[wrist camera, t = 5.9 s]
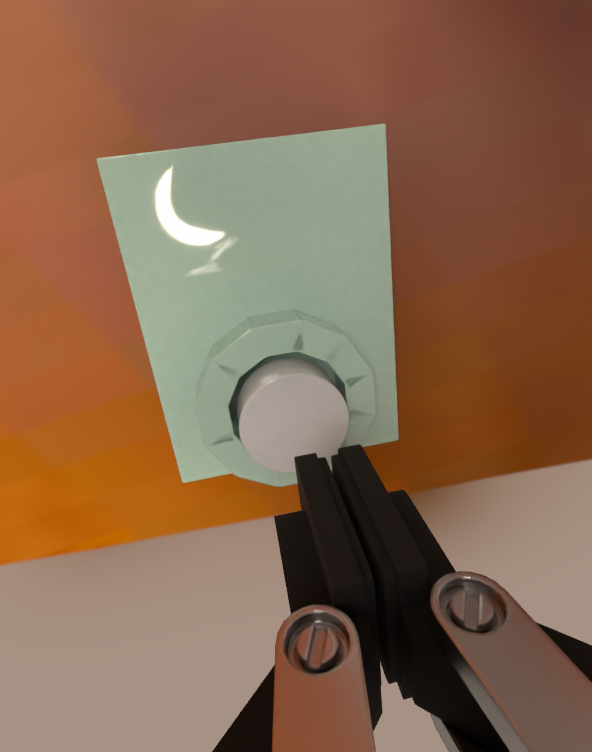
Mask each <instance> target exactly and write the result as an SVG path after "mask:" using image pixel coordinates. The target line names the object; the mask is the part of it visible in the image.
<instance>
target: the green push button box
mask: <svg viewBox="0 0 592 752" xmlns="http://www.w3.org/2000/svg"><path fill="white" fill-rule="evenodd" d="M96 161H97V165H98V169H99V172H100V176H101V180H102V184H103V187H104V191H105V195H106V199H107V202H108V206H109V210H110V214H111V217H112V221H113V225H114V229H115V232H116V236H117V240H118V244H119V247H120V251H121V255H122V259H123V262H124V266H125V270H126V274H127V277H128V281H129V285H130V289H131V292H132V296H133V300H134V304H135V307H136V311H137V315H138V319H139V322H140V326H141V330H142V334H143V337H144V341H145V345H146V349H147V352H148V356H149V360H150V364H151V367H152V371H153V375H154V379H155V383H156V386H157V390H158V394H159V398H160V401H161V405H162V409H163V413H164V416H165V420H166V424H167V428H168V431H169V435H170V439H171V443H172V446H173V450H174V454H175V458H176V461H177V465H178V469H179V473H180V476H181V480H182V483H186V482H191V481H196V480H201V479H206V478H211V477H216V476H221V475H226V474H231V473H233V474H234V475H235V476H237V477H240V478H244V479H248V480H252V481H256V482H260V483H263V484H267V485H271V486H275V487H278V486H279V487H283V486H288V485H292V484H297V483H298V482H297V475H296V473H282V472H277V471H273V470H270V469H267V468H265V467H263V466H262V465H260V464H258V463H257V462H256V461H255V460H253V459H252V458H251V457H250V455H249V454H248V453H247V452H246V450H245V449H244V447H243V444H242V442H241V439H240V435H239V426H238V416H237V401H238V396H239V393H240V391H241V388H242V386H243V385H244V383H245V382H246V380H247V379H248V378H249V377H250V375H251V374H253V373H254V372H255V371H256V370H257V369H259V368H260V367H262V366H263V365H265V364H267V363H270V362H272V361H275V360H279V359H286V358H297V359H303V360H306V361H309V362H312V363H314V364H316V365H318V366H319V367H321V368H322V369H323V370H324V371H325V372H326V373H327V374H328V375H329V376H330V378H331V379H332V381H333V382H334V384H335V385H336V387H337V388H338V390H339V391H340V393H341V394H342V396H343V398H344V400H345V402H346V405H347V408H348V414H349V423H348V429H347V433H346V436H345V438H344V441H343V442H342V444H341V446H340V447H339V448H342V447H347V446H353V445H358V444H360V445H361V446H362V447H366V446H371V445H376V444H381V443H386V442H391V441H396V440H399V437H398V413H397V389H396V364H395V340H394V316H393V292H392V268H391V244H390V219H389V195H388V171H387V147H386V125H385V124H376V125H368V126H360V127H351V128H343V129H335V130H327V131H318V132H310V133H302V134H293V135H285V136H277V137H268V138H260V139H252V140H243V141H235V142H227V143H219V144H210V145H202V146H194V147H185V148H177V149H169V150H160V151H152V152H144V153H136V154H127V155H119V156H111V157H102V158H97V159H96ZM337 454H338V450H337V451H336V452H335V453H334V455H337ZM327 462H328V465H329V467H330V469H331V471H332V463H331V457H330V458H329V459H328V460H327Z"/></svg>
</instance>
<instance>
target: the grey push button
mask: <svg viewBox="0 0 592 752" xmlns="http://www.w3.org/2000/svg"><path fill="white" fill-rule="evenodd" d="M237 416H238V426H239V435H240V439H241V442H242V444H243V447H244V449H245V450H246V452H247V453H248V454H249V455H250V457H251V458H252V459H253V460H255V461H256V462H257V463H258V464H260V465H262V466H263V467H265V468H267V469H270V470H273V471H277V472H282V473H296V468H295V461H294V457H296V456H301V455H306V454H311V453H316V454H317V457H318V458H321V457H326V460H328V459H329V458H330V457H331V456H332V455H334V453H335V452H336V451H337V450H338V448H339V447H340V446H341V444H342V442H343V441H344V438H345V436H346V433H347V429H348V423H349V414H348V408H347V405H346V402H345V400H344V398H343V396H342V394H341V393H340V391H339V390H338V388H337V387H336V385H335V384H334V382H333V381H332V379H331V378H330V376H329V375H328V374H327V373H326V372H325V371H324V370H323V369H322V368H321V367H319V366H318V365H316V364H314V363H312V362H309V361H306V360H303V359H297V358H286V359H279V360H275V361H272V362H270V363H267V364H265V365H263V366H262V367H260V368H259V369H257V370H256V371H255V372H254V373H253V374H251V375H250V377H249V378H248V379H247V380H246V382H245V383H244V385H243V386H242V388H241V391H240V393H239V396H238V401H237Z"/></svg>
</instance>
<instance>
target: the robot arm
mask: <svg viewBox="0 0 592 752" xmlns="http://www.w3.org/2000/svg"><path fill="white" fill-rule="evenodd" d="M294 461H295V468H296V475H297V482H298V489H299V496H300V503H301V510H302V511H297V512H292V513H288V514H283V515H278V516H274V518H275V524H276V529H277V535H278V541H279V547H280V553H281V559H282V564H283V570H284V576H285V582H286V587H287V593H288V599H289V605H290V611H291V615H290V616H289V617H288V618H287V619H286V620H285V621H284V622H283V624H282V626H281V628H280V630H279V631H278V634H277V639H276V644H275V665H274V667H273V668H272V670H271V671H270V672H269V674H268V675H267V677H266V678H265V679H264V680H263V682H262V683H261V685H260V686H259V687H258V689H257V691H256V692H255V693H254V694H253V696H252V697H251V699H250V700H249V701H248V703H247V704H246V706H245V707H244V708H243V710H242V711H241V712H240V714H239V715H238V717H237V718H236V719H235V721H234V722H233V724H232V725H231V726H230V728H229V729H228V731H227V732H226V733H225V735H224V736H223V737H222V739H221V740H220V742H219V743H218V745H217V746H216V747H215V749H214V750H213V751H212V752H376V748H375V742H374V735H373V731H374V729H375V726H376V725H377V722H378V721H379V718H380V716H381V714H382V700H381V670H380V662H381V665H382V667H383V670H384V674H385V676H386V679H387V681H388V683H389V684H390V683H394V682H397V683H398V686H399V689H400V691H401V694H402V697H403V699H407V698H411V697H412V698H413V701H414V703H415V704H416V705H417V706H419V707H421V708H422V709H424V710H426V711H428V712H429V713H431V717H432V720H433V722H434V725H435V727H436V729H437V731H438V733H439V735H440V737H441V739H442V740H443V742H444V744H445V746H446V747H447V749H448V751H449V752H592V646H591V645H589V644H587V643H584V642H582V641H580V640H577V639H575V638H572V637H570V636H567V635H565V634H563V633H560V632H558V631H555V630H553V629H551V628H548V627H546V626H543V625H541V624H539V623H536V622H535V621H534V620H533V619H532V618H531V617H530V616H529V615H528V614H527V612H526V611H525V610H524V609H523V608H522V607H521V606H520V605H519V604H518V603H517V602H516V601H515V600H514V598H513V597H512V596H511V595H510V594H509V593H508V592H507V591H506V590H505V589H504V588H503V587H501V586H500V585H499V584H498V583H497V582H495V581H494V580H492V579H490V578H488V577H486V576H484V575H481V574H477V573H473V572H461V571H460V572H456V571H455V570H454V568H453V566H452V565H451V563H450V562H449V560H448V558H447V557H446V555H445V554H444V552H443V550H442V549H441V547H440V545H439V544H438V542H437V541H436V539H435V538H434V536H433V534H432V533H431V531H430V529H429V528H428V526H427V525H426V523H425V521H424V520H423V518H422V517H421V515H420V514H419V512H418V510H417V509H416V507H415V506H414V504H413V502H412V501H411V499H410V497H409V496H408V494H407V493H406V492H405V491H404V490H399V491H394V492H389V493H388V492H387V491H386V489H385V487H384V485H383V483H382V482H381V480H380V478H379V476H378V475H377V473H376V471H375V469H374V467H373V466H372V464H371V462H370V460H369V459H368V457H367V455H366V453H365V451H364V450H363V448H362V446H361V445H360V444H358V445H353V446H347V447H342V448H338V454H337V455H332V456H331V463H332V472H331V469H330V467H329V465H328V462H327V460H326V457H321V458H318V457H317V454H316V453H311V454H306V455H301V456H296V457H294ZM332 473H333V474H332Z"/></svg>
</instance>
